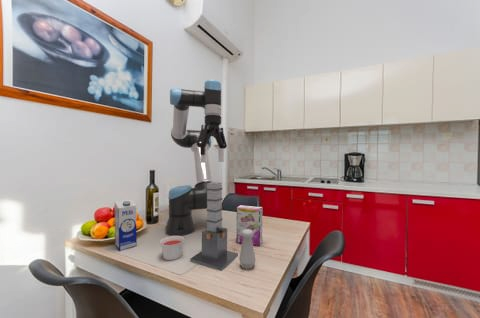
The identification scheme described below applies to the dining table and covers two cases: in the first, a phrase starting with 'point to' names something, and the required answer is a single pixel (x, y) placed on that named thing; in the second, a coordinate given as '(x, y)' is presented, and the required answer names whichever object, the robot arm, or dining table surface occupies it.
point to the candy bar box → (249, 223)
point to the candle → (172, 247)
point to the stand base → (214, 250)
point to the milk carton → (125, 224)
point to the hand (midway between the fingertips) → (213, 162)
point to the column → (214, 207)
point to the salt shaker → (247, 250)
